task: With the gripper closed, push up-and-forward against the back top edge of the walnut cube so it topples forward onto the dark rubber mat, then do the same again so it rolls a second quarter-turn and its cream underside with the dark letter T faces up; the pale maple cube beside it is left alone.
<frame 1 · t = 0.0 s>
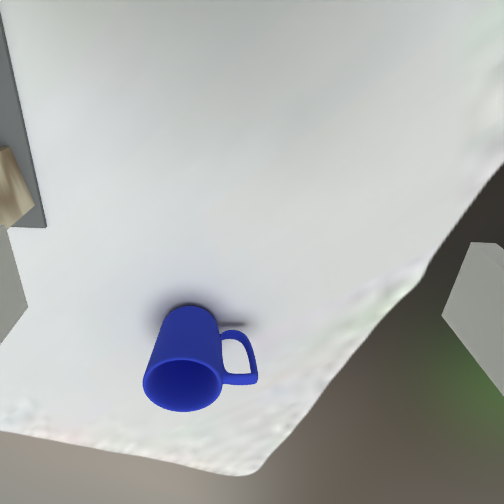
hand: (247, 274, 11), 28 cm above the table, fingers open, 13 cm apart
mug: (206, 322, 48), on the table
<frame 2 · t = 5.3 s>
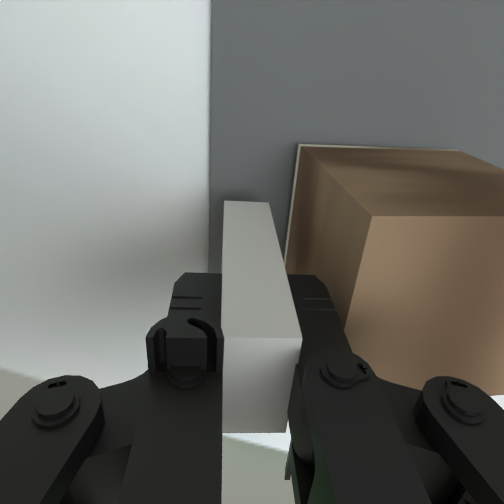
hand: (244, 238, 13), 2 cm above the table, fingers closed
walnut block: (362, 223, 15), point 1 cm above the table, tilted 5°, touching gripper, rubber mat
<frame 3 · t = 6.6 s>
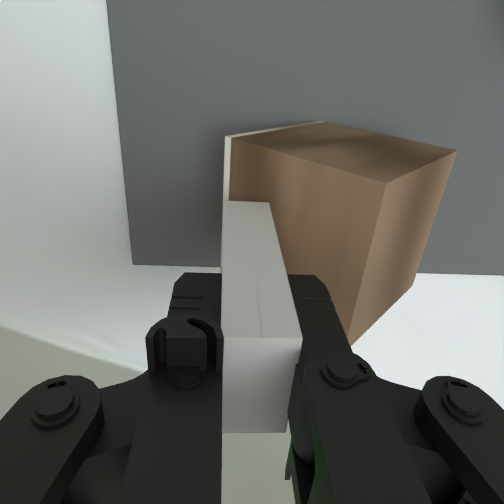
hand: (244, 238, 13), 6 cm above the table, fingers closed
rubber mat: (391, 76, 17), on the table
walnut block: (271, 197, 17), point 2 cm above the table, tilted 44°, touching rubber mat
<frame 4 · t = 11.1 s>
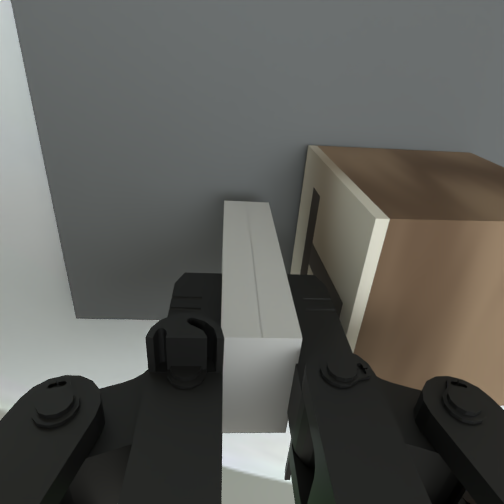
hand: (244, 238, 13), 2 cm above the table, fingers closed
rubber mat: (400, 85, 13), on the table
walnut block: (316, 266, 12), point 4 cm above the table, tilted 93°, touching gripper, rubber mat
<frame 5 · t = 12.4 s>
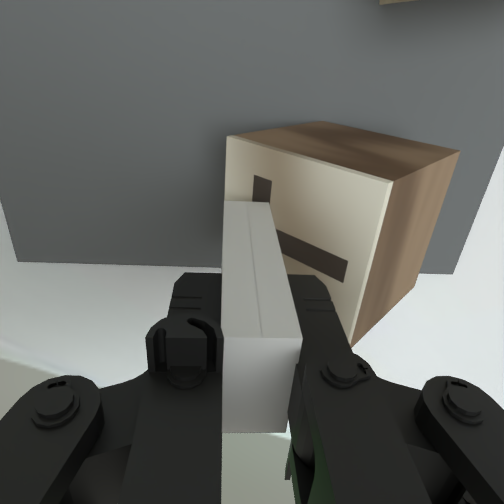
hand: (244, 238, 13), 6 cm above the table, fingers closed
rubber mat: (259, 66, 16), on the table
walnut block: (284, 243, 13), point 7 cm above the table, tilted 134°, touching rubber mat
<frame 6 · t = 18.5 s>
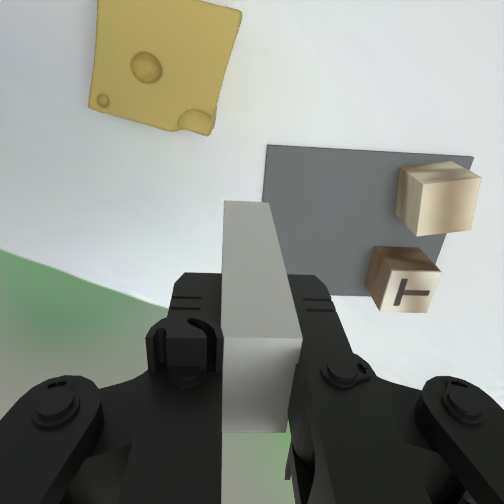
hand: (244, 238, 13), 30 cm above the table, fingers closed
rubber mat: (354, 229, 48), on the table
maple block: (422, 188, 45), resting on rubber mat
walnut block: (410, 292, 45), point 6 cm above the table, tilted 180°, touching rubber mat
cheese: (174, 56, 37), on the table
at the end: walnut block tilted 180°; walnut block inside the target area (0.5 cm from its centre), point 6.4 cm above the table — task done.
